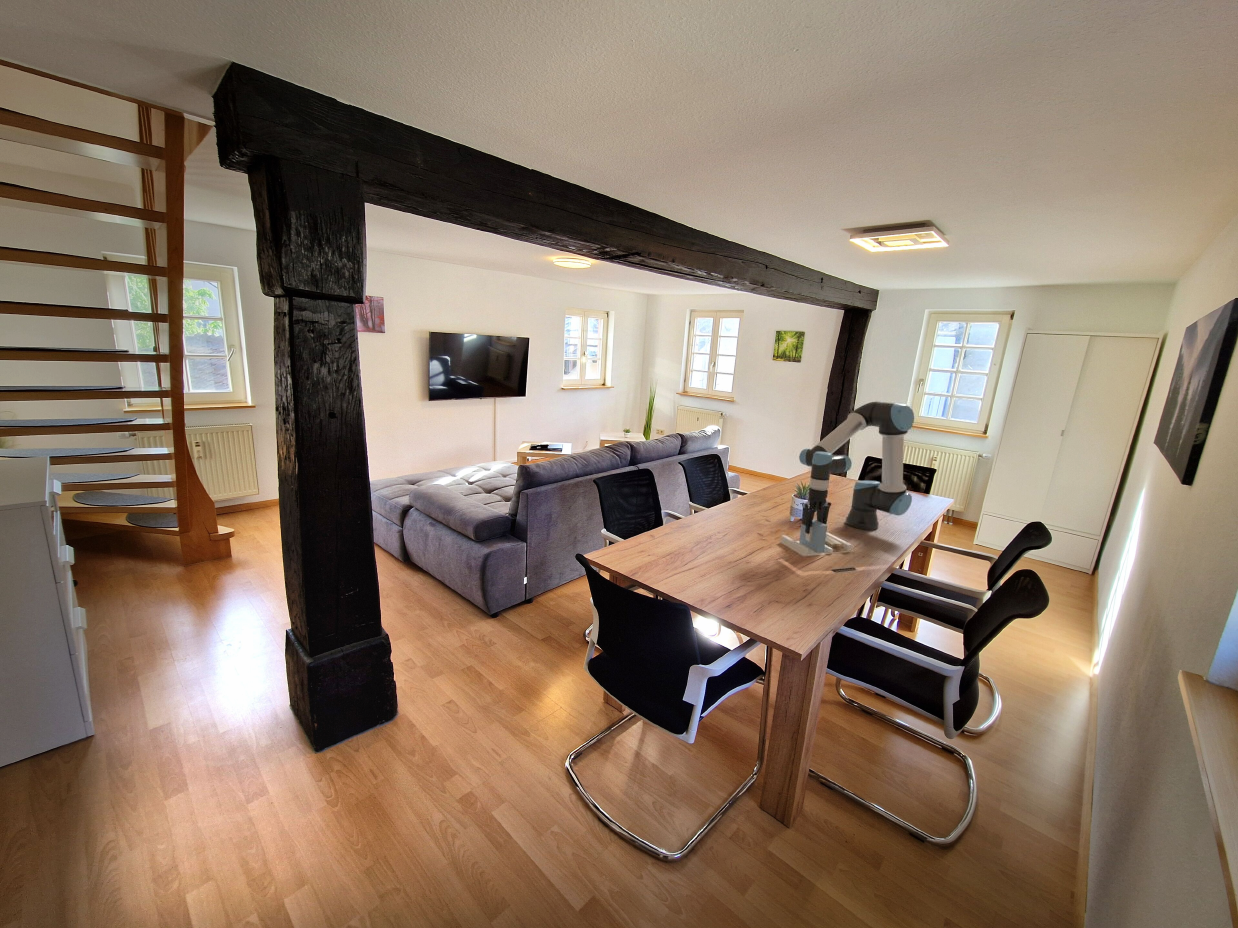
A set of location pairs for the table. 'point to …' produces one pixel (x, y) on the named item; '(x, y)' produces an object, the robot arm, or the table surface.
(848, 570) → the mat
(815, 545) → the blue-grey square block
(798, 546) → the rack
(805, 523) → the robot arm
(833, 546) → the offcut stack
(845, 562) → the table surface
